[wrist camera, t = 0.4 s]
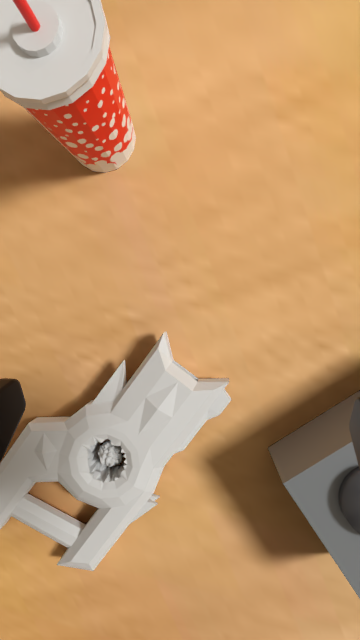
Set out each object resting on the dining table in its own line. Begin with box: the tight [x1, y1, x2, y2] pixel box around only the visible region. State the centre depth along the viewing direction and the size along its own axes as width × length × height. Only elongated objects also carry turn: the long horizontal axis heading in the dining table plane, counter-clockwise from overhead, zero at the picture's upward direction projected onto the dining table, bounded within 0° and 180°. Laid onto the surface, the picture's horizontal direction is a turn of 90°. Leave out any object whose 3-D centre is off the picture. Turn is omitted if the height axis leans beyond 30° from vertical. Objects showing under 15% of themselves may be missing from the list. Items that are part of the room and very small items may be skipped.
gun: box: [0, 332, 231, 571], centre depth 22 cm, size 18×4×10 cm
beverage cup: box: [0, 0, 136, 173], centre depth 17 cm, size 6×6×14 cm
